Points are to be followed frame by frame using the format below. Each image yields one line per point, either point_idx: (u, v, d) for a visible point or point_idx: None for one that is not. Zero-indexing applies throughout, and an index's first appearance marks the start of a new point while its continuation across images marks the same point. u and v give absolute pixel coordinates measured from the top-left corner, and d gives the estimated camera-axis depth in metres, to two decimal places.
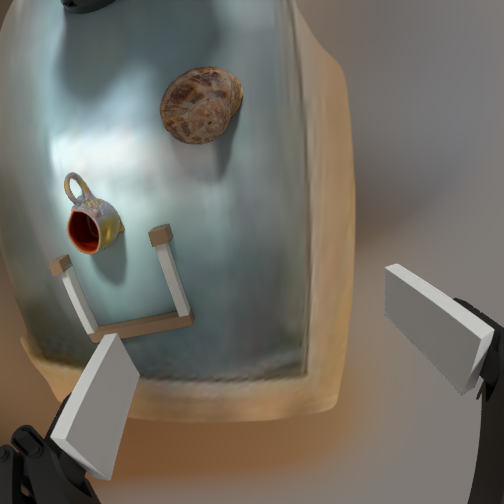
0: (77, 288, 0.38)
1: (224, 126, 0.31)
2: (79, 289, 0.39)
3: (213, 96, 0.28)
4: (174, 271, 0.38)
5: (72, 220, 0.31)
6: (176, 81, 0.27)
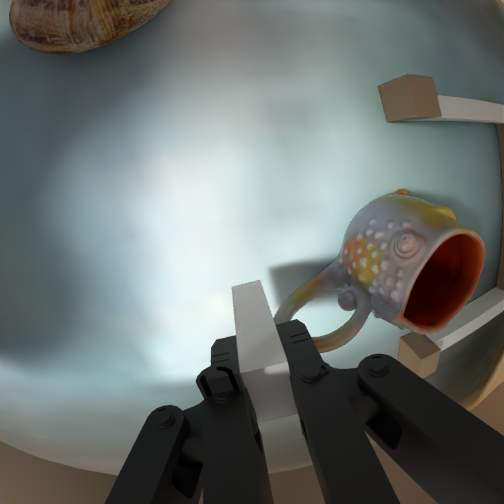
0: (455, 319, 0.18)
1: None
2: None
3: None
4: None
5: None
6: (15, 18, 0.05)
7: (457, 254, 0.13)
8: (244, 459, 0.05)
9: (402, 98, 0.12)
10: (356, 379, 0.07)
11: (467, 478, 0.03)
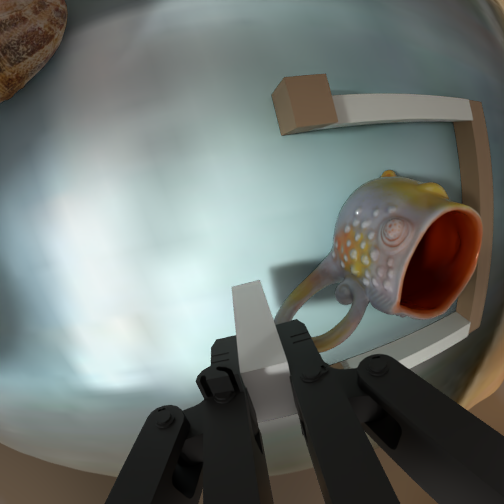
0: (392, 351, 0.18)
1: None
2: (394, 346, 0.18)
3: None
4: None
5: (407, 306, 0.12)
6: None
7: (454, 229, 0.12)
8: (244, 459, 0.05)
9: (285, 107, 0.12)
10: (356, 379, 0.07)
11: (467, 477, 0.03)
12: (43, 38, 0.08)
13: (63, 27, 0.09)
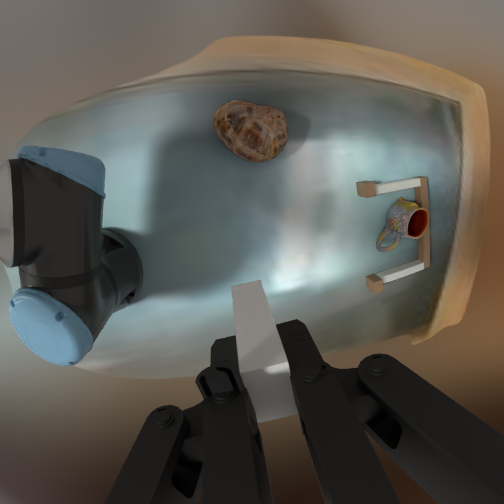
0: (391, 270, 0.51)
1: (275, 109, 0.37)
2: (392, 269, 0.51)
3: (254, 115, 0.35)
4: (391, 182, 0.45)
5: None
6: (238, 146, 0.37)
7: (421, 213, 0.44)
8: (244, 459, 0.05)
9: (362, 190, 0.44)
10: (356, 379, 0.07)
11: (467, 477, 0.03)
12: None
13: None
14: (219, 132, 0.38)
